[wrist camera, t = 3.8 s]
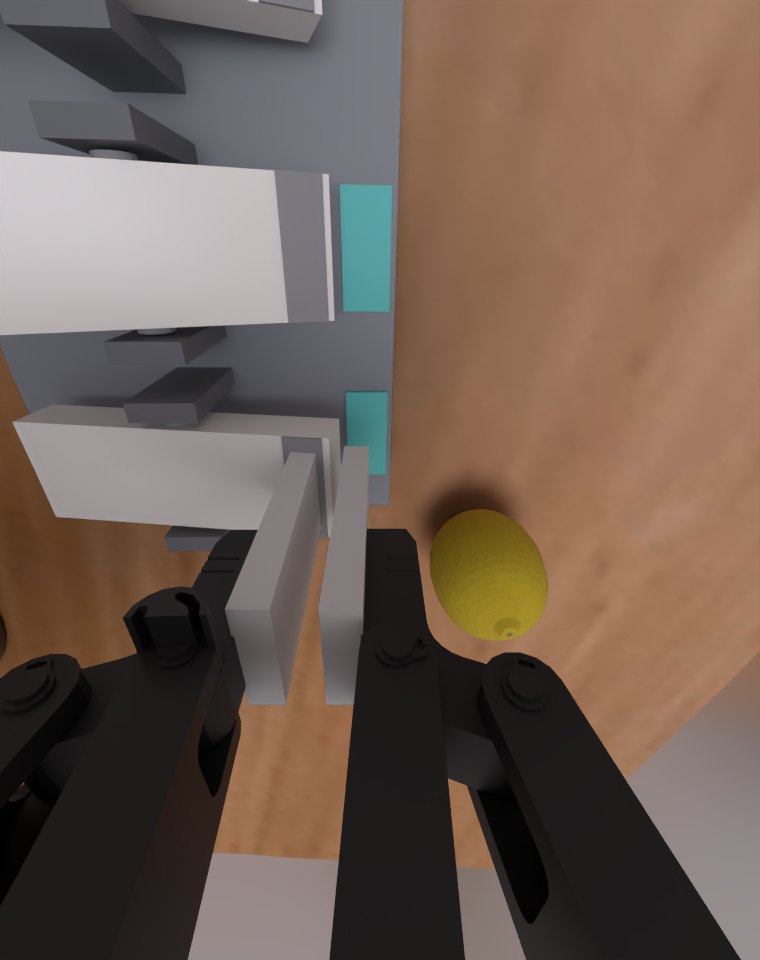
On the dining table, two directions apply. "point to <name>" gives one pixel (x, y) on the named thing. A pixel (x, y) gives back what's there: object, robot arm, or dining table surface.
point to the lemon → (488, 575)
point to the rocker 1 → (239, 15)
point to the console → (225, 143)
